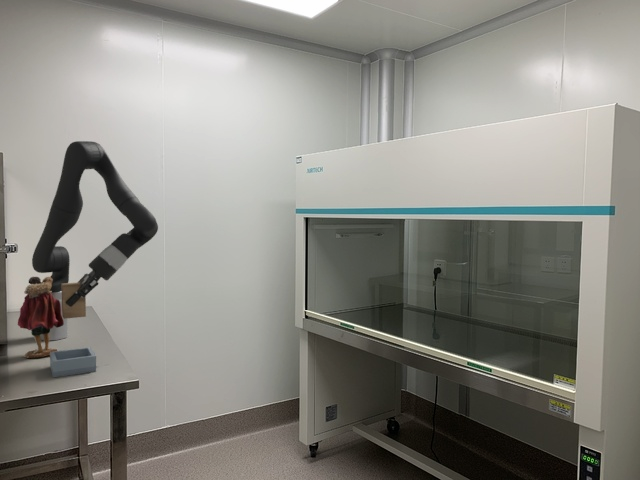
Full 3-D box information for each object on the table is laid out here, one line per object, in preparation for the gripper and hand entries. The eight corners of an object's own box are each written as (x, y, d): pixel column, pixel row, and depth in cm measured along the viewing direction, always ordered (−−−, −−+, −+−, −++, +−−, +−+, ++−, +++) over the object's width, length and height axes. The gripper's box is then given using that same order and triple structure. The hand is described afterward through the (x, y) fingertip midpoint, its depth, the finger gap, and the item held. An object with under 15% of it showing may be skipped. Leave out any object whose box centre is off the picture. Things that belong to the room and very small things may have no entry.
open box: (50, 366, 146) (50, 351, 146) (90, 361, 152) (90, 346, 152) (53, 377, 137) (53, 361, 136) (96, 371, 143) (96, 356, 142)
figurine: (54, 347, 166) (53, 274, 165) (68, 353, 160) (67, 277, 158) (13, 355, 157) (12, 277, 155) (26, 362, 150) (25, 280, 149)
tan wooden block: (62, 315, 151) (61, 283, 150) (83, 313, 154) (82, 282, 154) (63, 318, 147) (63, 285, 146) (85, 316, 150) (85, 284, 150)
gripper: (95, 252, 160) (54, 292, 154) (103, 256, 148) (59, 299, 142) (113, 267, 163) (73, 307, 157) (122, 272, 151) (79, 315, 145)
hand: (67, 303), depth 149 cm, fingers closed on tan wooden block, 5 cm apart
